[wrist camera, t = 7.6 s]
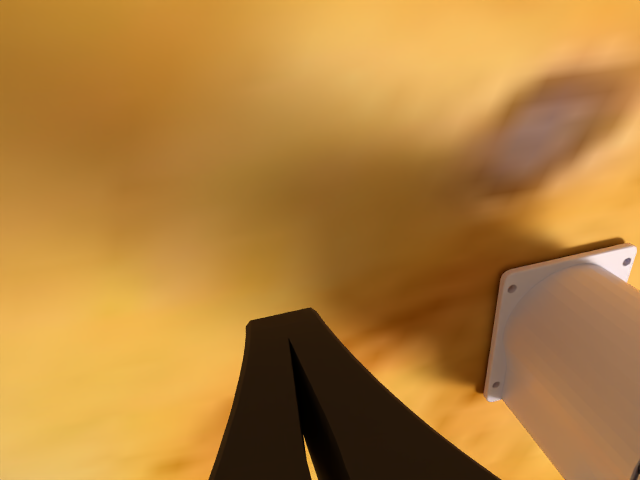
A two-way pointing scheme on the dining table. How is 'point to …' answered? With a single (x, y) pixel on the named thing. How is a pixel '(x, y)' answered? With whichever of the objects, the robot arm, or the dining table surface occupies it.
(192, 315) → the dining table surface
